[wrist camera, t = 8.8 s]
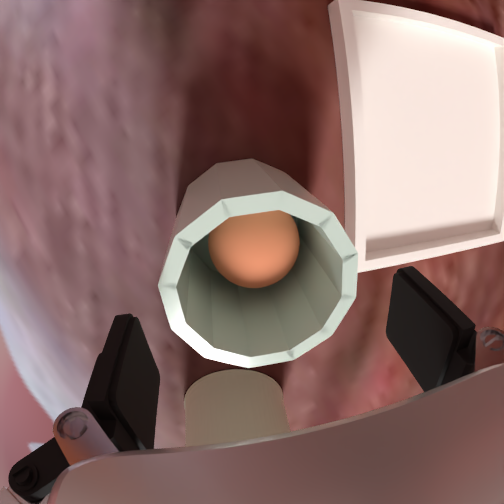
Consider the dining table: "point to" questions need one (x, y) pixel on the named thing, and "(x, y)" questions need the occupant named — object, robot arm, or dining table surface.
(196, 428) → the can
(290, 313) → the cup
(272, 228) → the ball
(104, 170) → the dining table surface
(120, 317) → the robot arm
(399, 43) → the tray
